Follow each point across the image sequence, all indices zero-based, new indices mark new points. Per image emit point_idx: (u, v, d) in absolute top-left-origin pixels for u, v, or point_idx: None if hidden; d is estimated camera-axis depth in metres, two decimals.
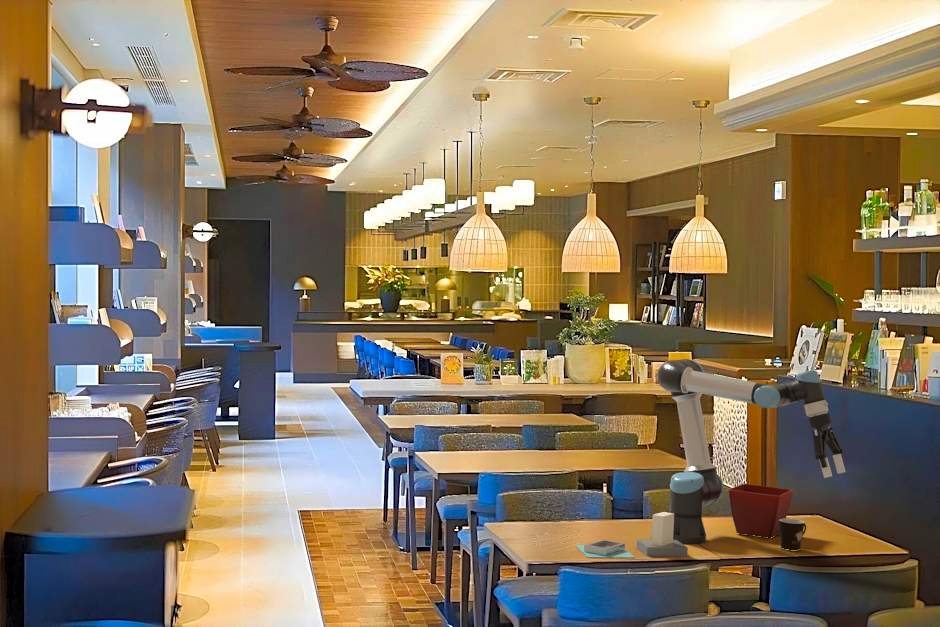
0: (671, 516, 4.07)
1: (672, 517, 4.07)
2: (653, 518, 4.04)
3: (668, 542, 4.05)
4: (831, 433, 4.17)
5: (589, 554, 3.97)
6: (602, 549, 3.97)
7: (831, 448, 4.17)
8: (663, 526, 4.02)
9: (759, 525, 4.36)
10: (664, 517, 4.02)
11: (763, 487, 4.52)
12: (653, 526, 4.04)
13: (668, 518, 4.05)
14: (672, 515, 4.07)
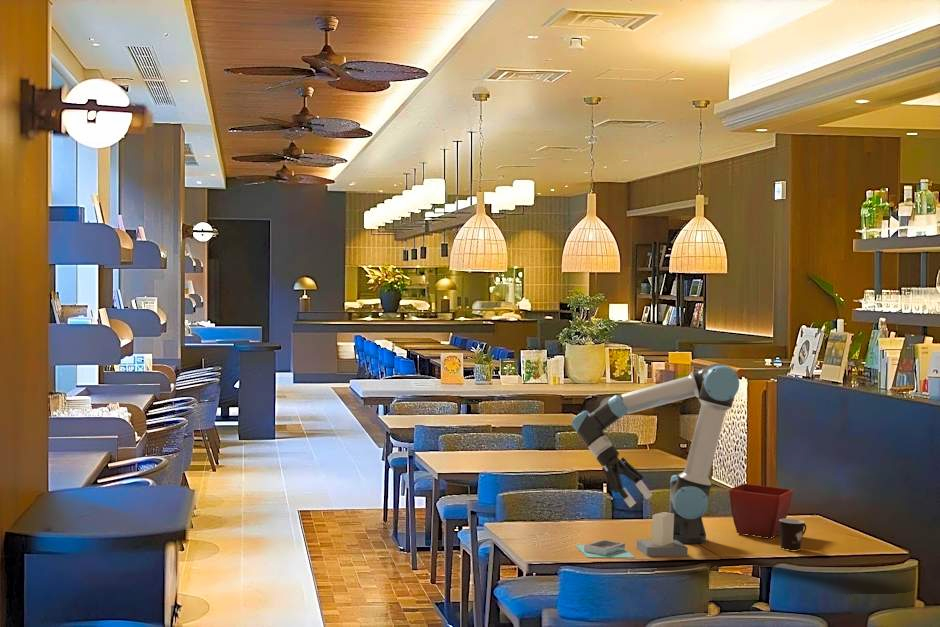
0: (671, 516, 4.07)
1: (672, 517, 4.07)
2: (653, 518, 4.04)
3: (668, 542, 4.05)
4: (625, 464, 4.18)
5: (589, 554, 3.97)
6: (602, 549, 3.97)
7: (630, 478, 4.17)
8: (663, 526, 4.02)
9: (759, 525, 4.36)
10: (664, 517, 4.02)
11: (763, 487, 4.52)
12: (653, 526, 4.04)
13: (668, 518, 4.05)
14: (672, 515, 4.07)
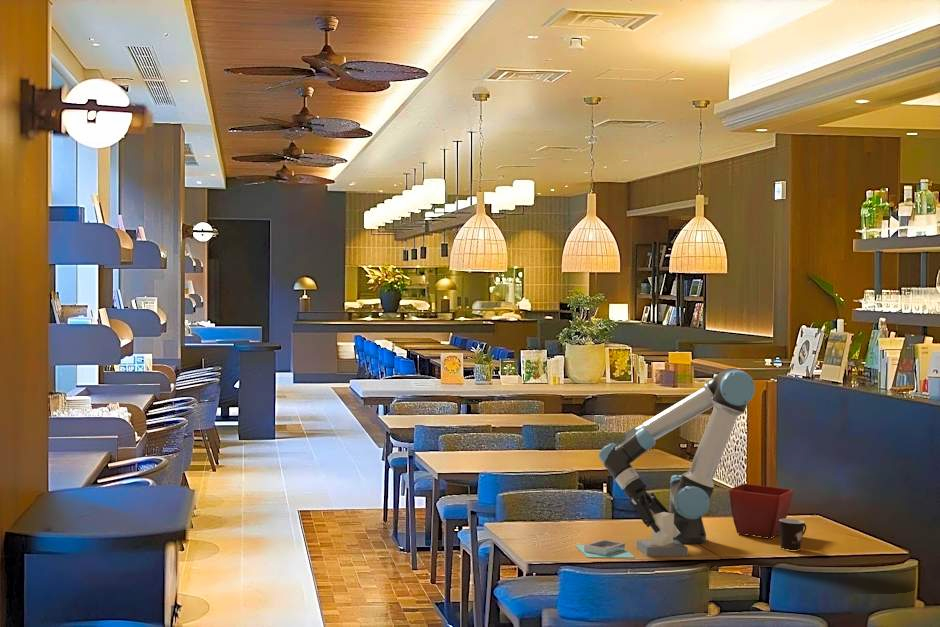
0: (671, 516, 4.07)
1: (672, 517, 4.07)
2: None
3: (668, 542, 4.05)
4: (653, 499, 4.14)
5: (589, 554, 3.97)
6: (602, 549, 3.97)
7: None
8: (663, 526, 4.02)
9: (759, 525, 4.36)
10: (664, 517, 4.02)
11: (763, 487, 4.52)
12: None
13: (668, 518, 4.05)
14: (672, 515, 4.07)
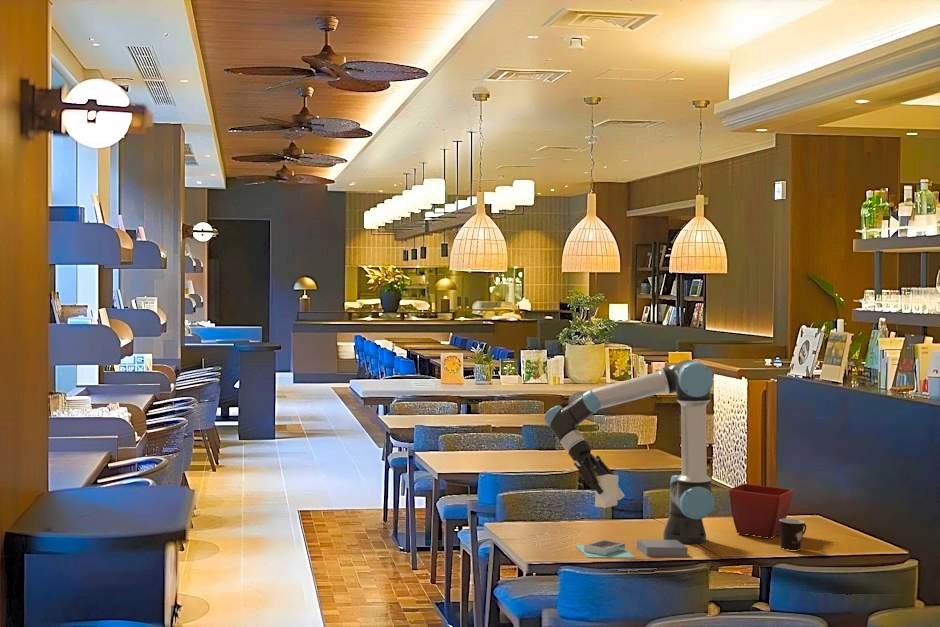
0: (615, 478, 4.03)
1: (616, 479, 4.04)
2: None
3: (612, 504, 4.02)
4: (599, 462, 4.11)
5: (589, 554, 3.97)
6: (602, 549, 3.97)
7: None
8: (606, 488, 3.99)
9: (759, 525, 4.36)
10: (608, 479, 3.99)
11: (763, 487, 4.52)
12: None
13: (612, 480, 4.01)
14: (616, 477, 4.04)
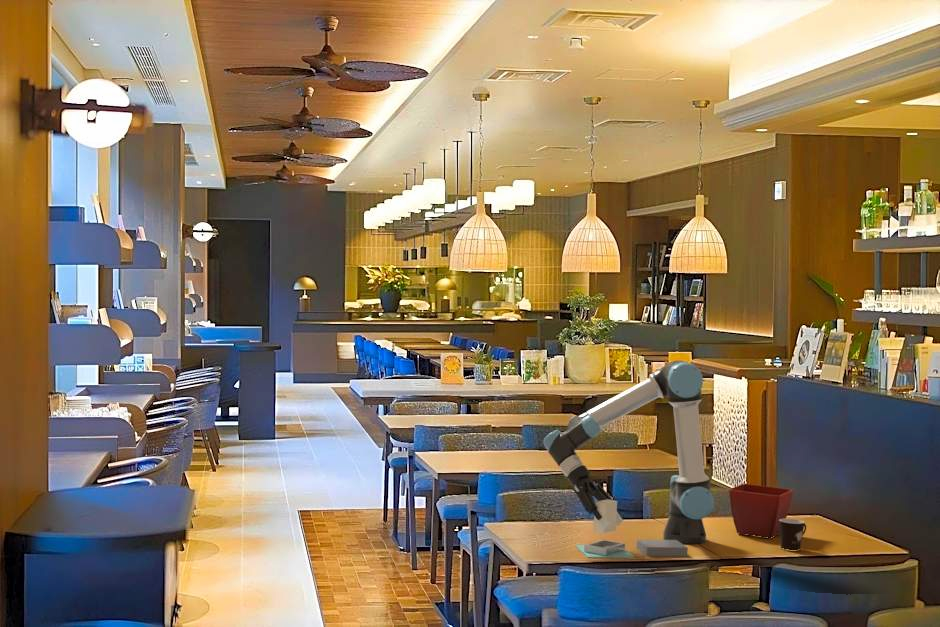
0: (614, 503, 4.04)
1: (615, 505, 4.04)
2: None
3: (610, 530, 4.03)
4: (597, 486, 4.11)
5: (589, 554, 3.97)
6: (602, 549, 3.97)
7: None
8: (605, 513, 3.99)
9: (759, 525, 4.36)
10: (606, 504, 3.99)
11: (763, 487, 4.52)
12: None
13: (610, 506, 4.02)
14: (615, 502, 4.04)
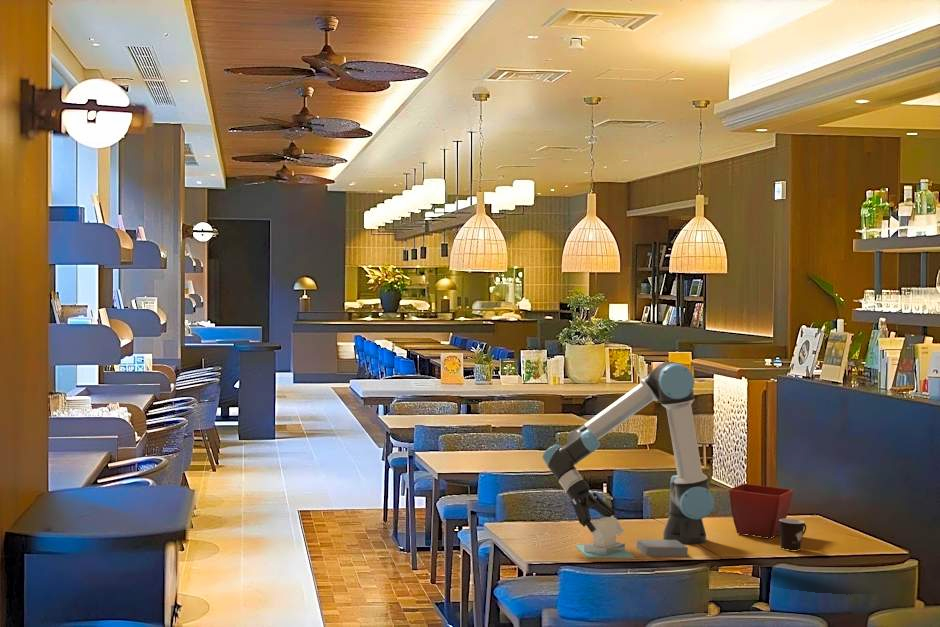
0: (614, 521, 4.04)
1: (614, 522, 4.04)
2: (595, 523, 4.01)
3: None
4: (597, 499, 4.12)
5: (589, 554, 3.97)
6: (602, 549, 3.97)
7: (602, 513, 4.10)
8: (605, 531, 3.99)
9: (759, 525, 4.36)
10: (606, 522, 4.00)
11: (763, 487, 4.52)
12: None
13: (610, 523, 4.02)
14: (614, 520, 4.04)
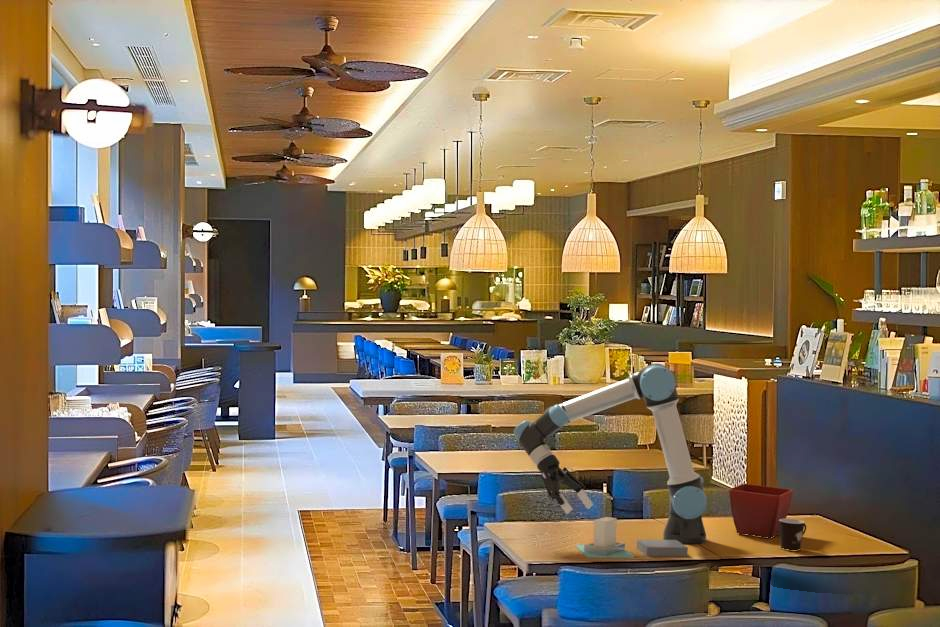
0: (614, 521, 4.04)
1: (614, 522, 4.04)
2: (595, 523, 4.01)
3: None
4: (567, 473, 4.19)
5: (589, 554, 3.97)
6: (602, 549, 3.97)
7: (572, 487, 4.17)
8: (605, 531, 3.99)
9: (759, 525, 4.36)
10: (606, 522, 4.00)
11: (763, 487, 4.52)
12: (595, 531, 4.01)
13: (610, 523, 4.02)
14: (614, 520, 4.04)
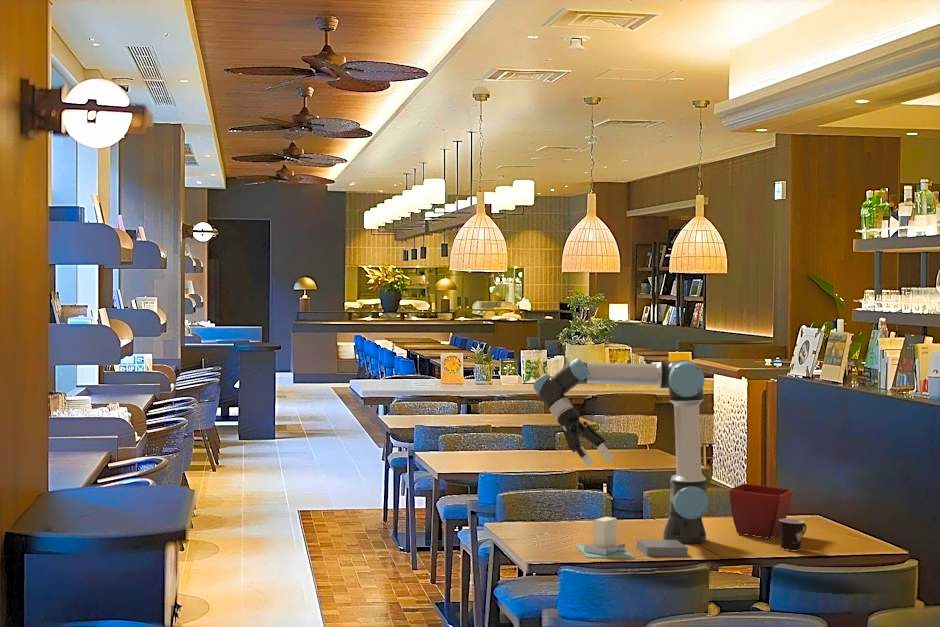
0: (614, 521, 4.04)
1: (614, 522, 4.04)
2: (595, 523, 4.01)
3: None
4: (587, 427, 4.17)
5: (589, 554, 3.97)
6: (602, 549, 3.97)
7: (592, 441, 4.15)
8: (605, 531, 3.99)
9: (759, 525, 4.36)
10: (606, 522, 4.00)
11: (763, 487, 4.52)
12: (595, 531, 4.01)
13: (610, 523, 4.02)
14: (614, 520, 4.04)
